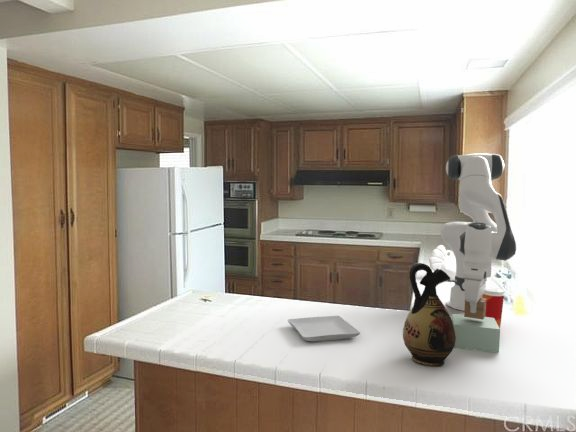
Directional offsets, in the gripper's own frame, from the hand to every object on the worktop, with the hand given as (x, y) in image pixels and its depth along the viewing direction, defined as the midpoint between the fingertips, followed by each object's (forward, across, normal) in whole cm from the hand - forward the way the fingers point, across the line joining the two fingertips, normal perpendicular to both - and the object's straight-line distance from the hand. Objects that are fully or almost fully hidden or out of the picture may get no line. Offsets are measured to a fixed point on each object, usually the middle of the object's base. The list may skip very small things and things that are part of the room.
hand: (475, 310), depth 153 cm
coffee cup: (+12, -22, +3) cm, 25 cm away
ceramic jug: (+12, +26, -10) cm, 30 cm away
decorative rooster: (+12, -112, -32) cm, 118 cm away
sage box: (+12, 0, 0) cm, 12 cm away
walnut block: (+2, 0, 0) cm, 2 cm away
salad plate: (+12, +21, -48) cm, 54 cm away
